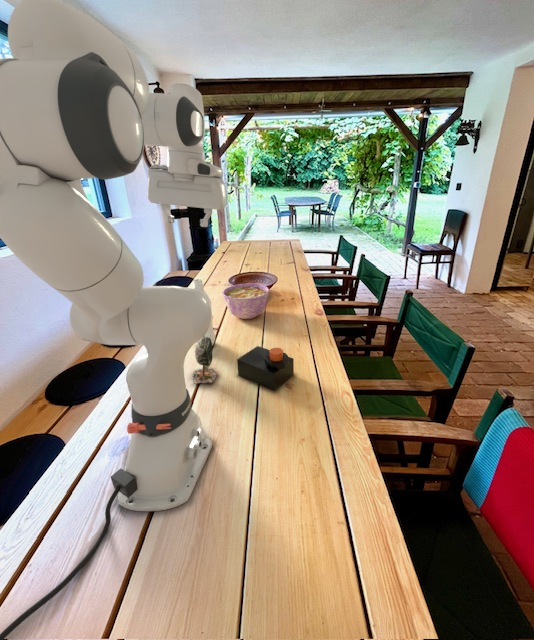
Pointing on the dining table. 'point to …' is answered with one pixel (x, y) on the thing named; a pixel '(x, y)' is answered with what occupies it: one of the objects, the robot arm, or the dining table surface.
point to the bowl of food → (246, 300)
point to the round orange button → (276, 354)
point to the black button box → (265, 368)
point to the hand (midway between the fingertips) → (187, 224)
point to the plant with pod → (204, 362)
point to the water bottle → (199, 286)
